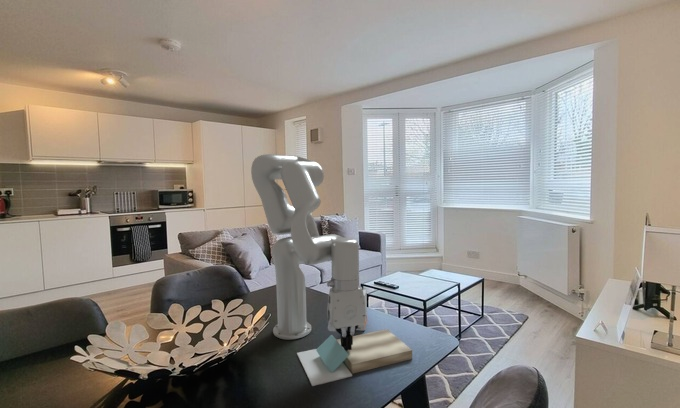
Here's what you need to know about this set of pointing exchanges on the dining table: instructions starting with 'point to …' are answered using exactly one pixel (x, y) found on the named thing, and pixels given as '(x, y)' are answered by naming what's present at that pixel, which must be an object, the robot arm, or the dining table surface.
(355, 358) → the beige brown rectangular slab
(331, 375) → the mat
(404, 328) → the dining table surface
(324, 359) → the tile
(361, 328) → the skincare box
